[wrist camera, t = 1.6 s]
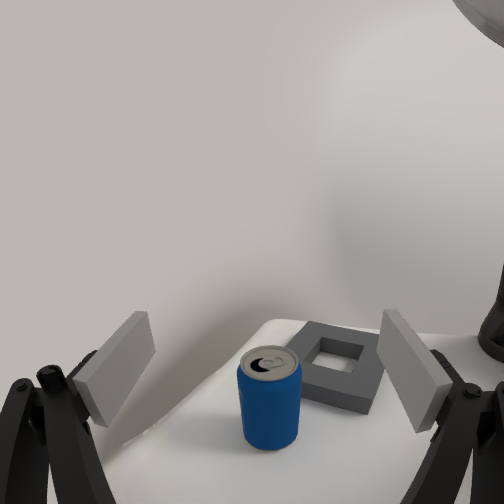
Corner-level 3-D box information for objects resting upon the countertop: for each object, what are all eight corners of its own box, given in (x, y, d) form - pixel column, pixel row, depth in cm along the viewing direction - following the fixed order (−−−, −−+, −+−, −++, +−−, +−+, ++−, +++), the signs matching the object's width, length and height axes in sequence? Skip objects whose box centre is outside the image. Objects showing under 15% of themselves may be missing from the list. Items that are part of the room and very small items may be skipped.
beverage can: (239, 421, 31) (230, 349, 28) (287, 411, 33) (288, 338, 30) (251, 459, 25) (244, 388, 22) (305, 445, 27) (313, 372, 24)
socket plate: (390, 351, 43) (393, 336, 42) (367, 414, 30) (372, 399, 29) (308, 334, 51) (308, 320, 51) (263, 383, 39) (263, 368, 38)
